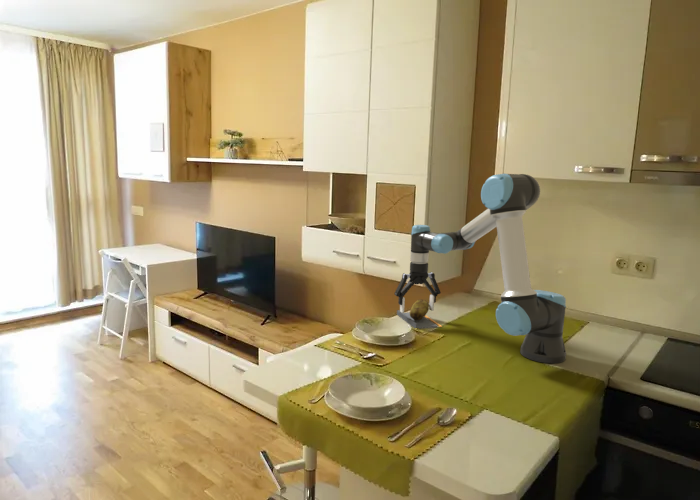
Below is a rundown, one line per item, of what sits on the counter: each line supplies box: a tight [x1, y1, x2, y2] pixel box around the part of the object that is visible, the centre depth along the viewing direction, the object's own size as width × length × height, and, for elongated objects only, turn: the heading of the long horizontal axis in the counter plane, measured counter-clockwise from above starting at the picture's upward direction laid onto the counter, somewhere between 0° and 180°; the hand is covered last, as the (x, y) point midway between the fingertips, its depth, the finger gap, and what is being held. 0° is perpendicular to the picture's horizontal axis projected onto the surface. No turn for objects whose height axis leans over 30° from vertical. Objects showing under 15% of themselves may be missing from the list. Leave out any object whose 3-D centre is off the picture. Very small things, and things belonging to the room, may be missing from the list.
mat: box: [396, 309, 439, 330], centre depth 218 cm, size 20×10×2 cm, turn 17°
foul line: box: [424, 314, 443, 328], centre depth 220 cm, size 20×1×1 cm, turn 17°
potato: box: [409, 298, 430, 320], centre depth 217 cm, size 8×13×8 cm, turn 146°
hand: (416, 311), depth 217 cm, fingers open, 13 cm apart
